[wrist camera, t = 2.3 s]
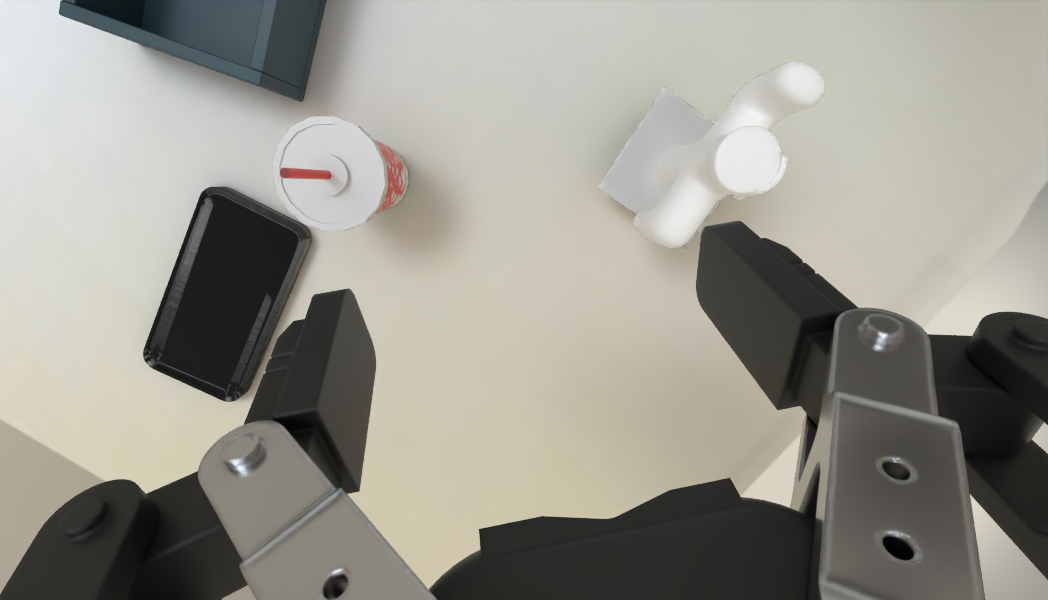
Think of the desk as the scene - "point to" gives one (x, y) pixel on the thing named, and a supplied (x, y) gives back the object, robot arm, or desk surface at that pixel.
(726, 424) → the desk surface
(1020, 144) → the desk surface
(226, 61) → the tub
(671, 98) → the figurine
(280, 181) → the beverage cup
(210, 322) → the phone
